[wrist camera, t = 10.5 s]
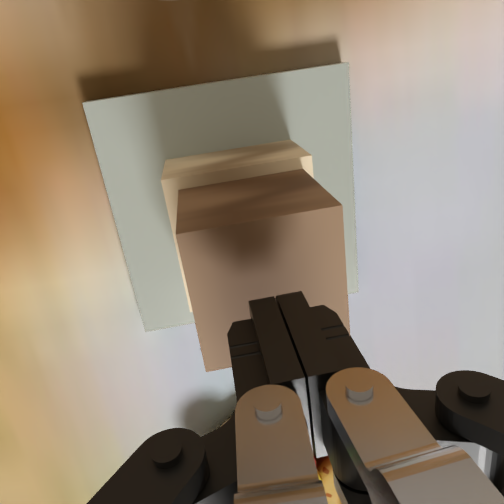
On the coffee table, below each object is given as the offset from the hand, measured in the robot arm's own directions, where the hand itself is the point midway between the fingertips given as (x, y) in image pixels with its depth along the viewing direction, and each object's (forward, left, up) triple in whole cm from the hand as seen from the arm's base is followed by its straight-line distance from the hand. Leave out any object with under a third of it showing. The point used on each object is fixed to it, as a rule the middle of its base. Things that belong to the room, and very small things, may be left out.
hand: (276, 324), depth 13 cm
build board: (0, 0, -12) cm, 12 cm away
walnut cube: (0, 0, -7) cm, 7 cm away
